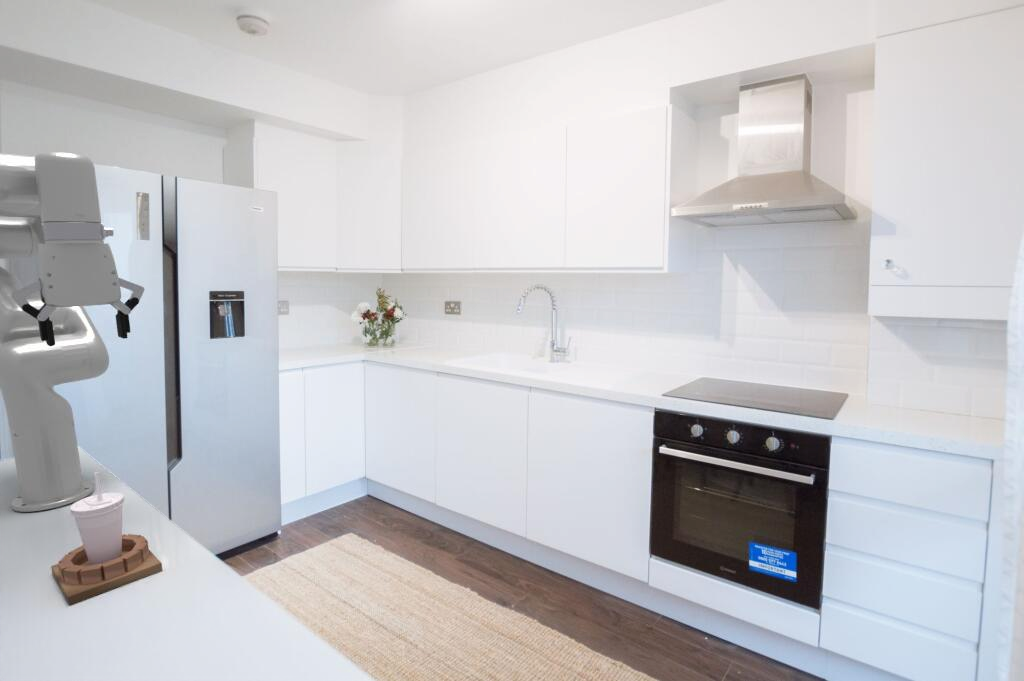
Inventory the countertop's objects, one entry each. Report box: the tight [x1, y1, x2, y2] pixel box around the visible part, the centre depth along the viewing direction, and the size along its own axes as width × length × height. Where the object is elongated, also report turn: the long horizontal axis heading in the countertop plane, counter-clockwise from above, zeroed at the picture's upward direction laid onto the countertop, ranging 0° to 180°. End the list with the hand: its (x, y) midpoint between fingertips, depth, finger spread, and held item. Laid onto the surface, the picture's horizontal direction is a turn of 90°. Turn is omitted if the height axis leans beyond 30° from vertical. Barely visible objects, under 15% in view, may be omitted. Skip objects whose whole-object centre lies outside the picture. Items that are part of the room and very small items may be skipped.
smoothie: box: [69, 471, 126, 565], centre depth 83 cm, size 6×6×14 cm
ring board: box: [51, 533, 163, 606], centre depth 84 cm, size 12×11×3 cm
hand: (88, 341), depth 93 cm, fingers open, 9 cm apart
